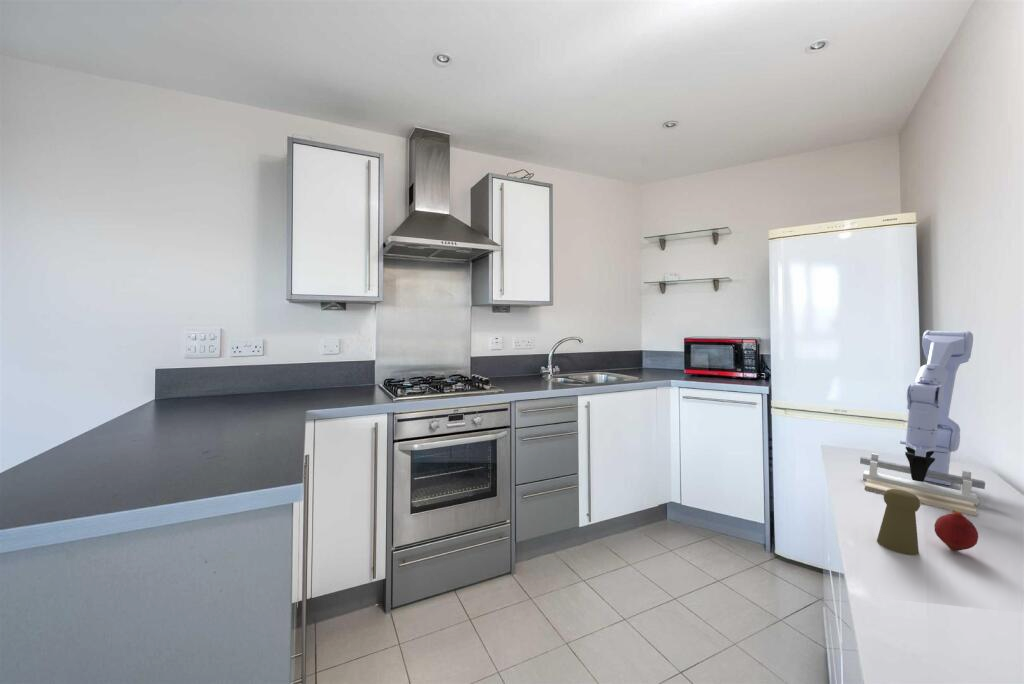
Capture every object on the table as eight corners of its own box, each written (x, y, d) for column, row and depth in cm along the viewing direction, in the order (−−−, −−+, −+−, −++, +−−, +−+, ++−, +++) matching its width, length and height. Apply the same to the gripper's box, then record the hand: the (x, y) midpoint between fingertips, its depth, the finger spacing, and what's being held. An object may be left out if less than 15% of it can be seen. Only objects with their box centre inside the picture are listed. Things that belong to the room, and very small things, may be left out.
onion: (966, 547, 82) (970, 507, 82) (983, 562, 77) (988, 520, 77) (927, 539, 85) (930, 501, 84) (941, 553, 79) (945, 512, 79)
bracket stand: (864, 475, 122) (866, 451, 122) (975, 499, 107) (978, 473, 107) (862, 479, 119) (864, 455, 118) (977, 505, 104) (980, 477, 103)
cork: (901, 540, 84) (906, 486, 83) (928, 556, 78) (933, 499, 77) (868, 537, 85) (873, 484, 84) (893, 553, 79) (898, 496, 78)
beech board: (866, 482, 117) (867, 478, 117) (972, 506, 103) (972, 502, 103) (864, 489, 111) (864, 485, 111) (976, 516, 97) (976, 511, 97)
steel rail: (860, 462, 122) (861, 456, 122) (983, 487, 105) (984, 481, 105) (859, 463, 120) (860, 458, 120) (984, 489, 104) (985, 482, 104)
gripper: (902, 421, 120) (897, 467, 121) (901, 429, 110) (896, 479, 110) (936, 426, 115) (932, 474, 116) (939, 435, 105) (934, 487, 106)
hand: (917, 477), depth 113 cm, fingers open, 7 cm apart
